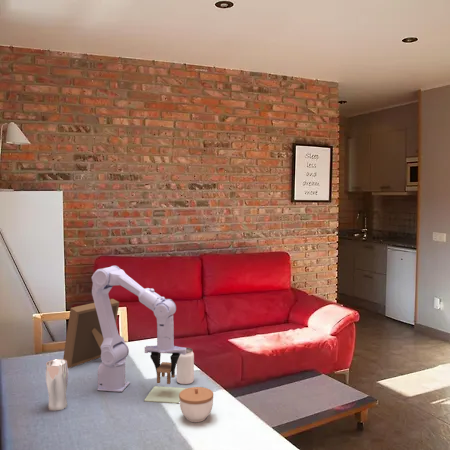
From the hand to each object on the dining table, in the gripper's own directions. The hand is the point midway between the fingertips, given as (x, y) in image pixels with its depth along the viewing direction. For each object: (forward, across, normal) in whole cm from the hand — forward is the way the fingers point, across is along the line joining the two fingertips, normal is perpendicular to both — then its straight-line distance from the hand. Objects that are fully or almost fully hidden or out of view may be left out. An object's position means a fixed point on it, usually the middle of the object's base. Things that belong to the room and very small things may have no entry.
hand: (165, 373), depth 164 cm
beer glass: (+8, -33, -14) cm, 37 cm away
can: (+8, +4, +13) cm, 16 cm away
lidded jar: (+8, +14, -15) cm, 22 cm away
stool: (+2, 0, 0) cm, 2 cm away
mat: (+8, 0, 0) cm, 8 cm away
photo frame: (+8, -38, +28) cm, 48 cm away
